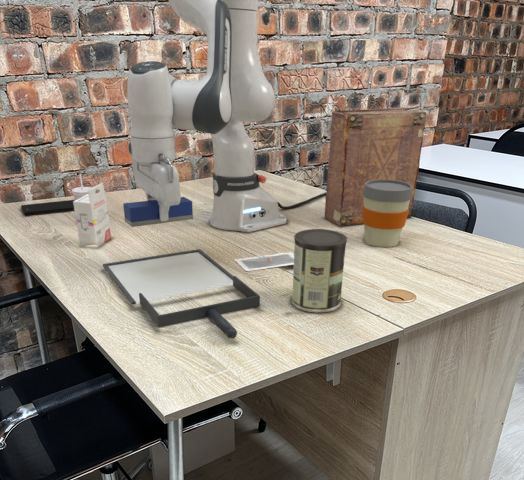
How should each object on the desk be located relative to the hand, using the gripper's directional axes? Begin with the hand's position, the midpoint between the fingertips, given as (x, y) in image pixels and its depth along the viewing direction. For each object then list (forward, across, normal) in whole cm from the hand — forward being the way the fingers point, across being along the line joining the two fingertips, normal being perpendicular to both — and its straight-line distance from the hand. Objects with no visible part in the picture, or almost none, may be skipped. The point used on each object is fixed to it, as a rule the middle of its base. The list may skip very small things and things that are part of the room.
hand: (158, 216), depth 122 cm
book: (+13, +14, -70) cm, 73 cm away
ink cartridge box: (+13, +27, +9) cm, 31 cm away
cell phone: (+13, +63, +13) cm, 65 cm away
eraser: (+1, 0, 0) cm, 1 cm away
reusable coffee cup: (+13, -4, -60) cm, 62 cm away
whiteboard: (+13, -5, 0) cm, 14 cm away
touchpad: (+12, -8, -24) cm, 28 cm away
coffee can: (+13, -29, -23) cm, 40 cm away
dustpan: (+13, -27, 0) cm, 30 cm away
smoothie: (+13, +44, +7) cm, 46 cm away
